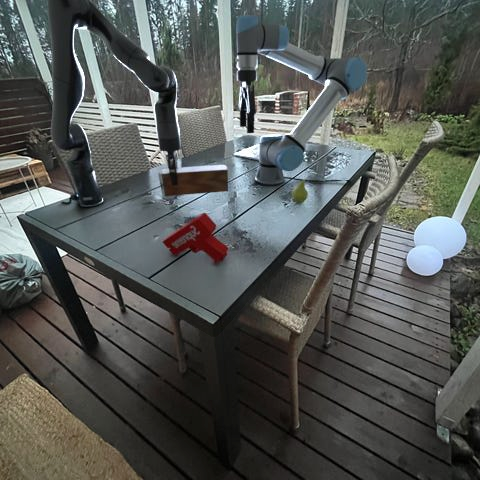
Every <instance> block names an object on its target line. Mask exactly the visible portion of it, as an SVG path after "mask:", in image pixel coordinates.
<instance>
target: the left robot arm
mask: <svg viewBox="0 0 480 480" xmlns="http://www.w3.org/2000/svg"><path fill="white" fill-rule="evenodd" d="M46 9H47V19H48V26H49V32H50V45H51V46H50V47H51V63H52V64H51V67H52V68H51V78H52V79H51V84H52V111H51V112H52V114H51V122H50V123H51V124H50V137H51V141H52V143H53V145H54V146H55V147H56V149H58V150H59V151H61V152H62V151H63V152H68V151H71V153H70V155H68V157H67V158H66V159H65V165H66V167H67V171H68V173H69V176H70V178H71V181H72V182H71V186H72V189H73V193H70V195H69V199H68V200H69V201H61V202H60V203H61V204H62V205H63V204H64V205H70V204H71V203H72V201H73V202H76V201H77V202H78V205H80V206H81V207H83V208H93V207H96V206H99V205H102V204H103V203H104V198H103V195H102V193H101V188H100V186H99V183H98V179H97V176H96V173H95V169H94V166H93V163H92V154H91V153H92V152H91V149H90V145H89V141H88V137H87V134H86V131H85V130H84V129H83V127H82V126H81V125H80V124H79V123H76V122H72V120H73V119H72V118H73V116H74V114H75V113H76V111H77V109H78V108H79V106H80V104H81V102H82V100H83V98H84V93H85V75H84V74H85V73H84V71H83V68H82V66H81V63H80V61H79V60H78V57H77V55H76V52H75V46H74V45H75V44H74V43H75V42H74V40H75V39H74V37H75V29H76V30H77V29H78V30H86V31H88V32H90V33H92V34H93V35H94V36H97V37H98V38H99V39H100V40H101V41H102V42H103V43H104V44H105V45H106V47H107V48H108V50H109V51H110V53H111V54H112V55H113V57H114V58H115V59H116V60H117V61H118V62H119V63H120V64H122V65H123V66H124V67H126V68H127V69H128V70H129V71H131V72H133V73H134V74H135V76H136V77H137V78H138V80H139V81H140V82H141V83H142V84H143V86H145V87H146V88H147V89H148V90H150V91H151V92H153V93H155V94H156V93H157V100H156V102H154V104H153V111H154V118H155V128H156V135H157V136H156V137H157V143H158V148H159V150H160V151H162V152H166V153H165V161H166V165H167V168H168V169H169V175H170V176H171V182H172V185H173V186H174V185H178V180H177V168H179V167H178V153H176V151H179V150H181V149H182V141H181V132H180V126H179V121H178V114H177V107H176V106H177V98H178V97H177V96H178V95H177V94H178V82H177V77H176V74H175V72H174V71H173V69H172V68H170V67H168V66H165V65H161V66H160V65H156V64H155V63H153V62H152V60H151V59H150V56H149V55H148V52H146V51H145V50H144V49H143V48H142V47H140V46H139V45H138V44H137V43H135V42H134V40H132V39H130V38H129V37H128V36H127V35H125V33H123V32H122V31H121V30H120V29H119V28H117V27H116V26H115V24H114V23H112V22H111V21H110V20H109V18H108V17H106V15H105V14H104V13H103V12H102V11H101V10H100V9H99V8H98V7H97V6H96V5H95V4H94V3H93V2H92V0H46ZM173 169H174V170H175V172H171V170H173Z"/></svg>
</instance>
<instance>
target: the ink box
mask: <svg viewBox="0 0 480 480" xmlns="http://www.w3.org/2000/svg"><path fill="white" fill-rule="evenodd" d="M157 175H158V180H159V186H160V191H161V197H162V198H164V199H165V200H171V199H174V198H176V197H180V195H175V196H165V193H164V187H163V180H162V171H160V172H158V173H157Z"/></svg>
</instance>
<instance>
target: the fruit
mask: <svg viewBox="0 0 480 480" xmlns="http://www.w3.org/2000/svg"><path fill="white" fill-rule="evenodd" d="M310 177H311V175H310V174H309V175H308V176H307V177H305V178H304V179H305V180H308V179H309V178H310ZM305 180H302V181H300V182H298V184H297V185H296V186H295V187H294V188H293V190H292V191H291V198H292V200H293V201H294V202H295V203H297V204H301V203H304V202H305V201H306V200H307V198H308V196H309V195H308V190H307V189H306V184H305V183H306V181H305Z"/></svg>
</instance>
